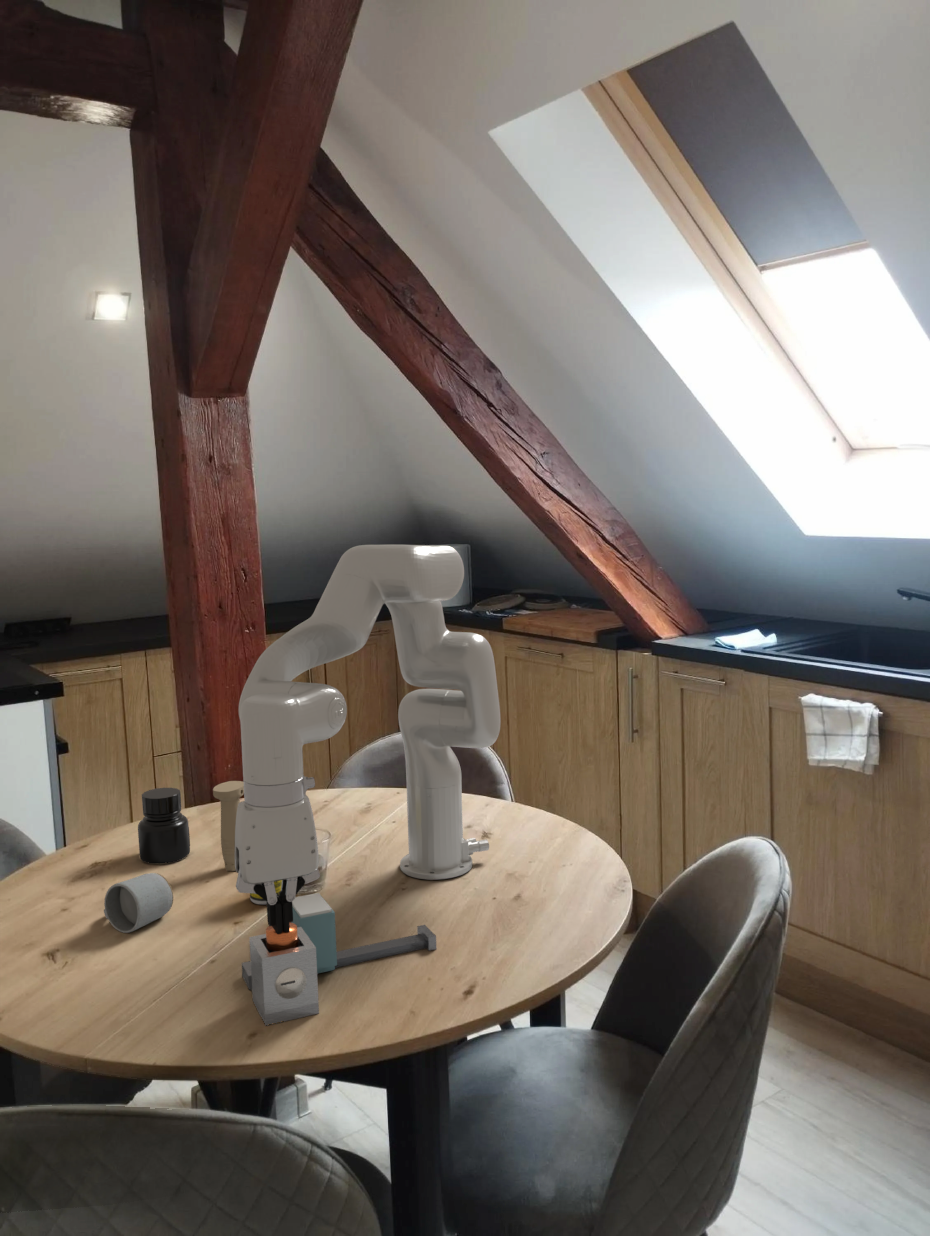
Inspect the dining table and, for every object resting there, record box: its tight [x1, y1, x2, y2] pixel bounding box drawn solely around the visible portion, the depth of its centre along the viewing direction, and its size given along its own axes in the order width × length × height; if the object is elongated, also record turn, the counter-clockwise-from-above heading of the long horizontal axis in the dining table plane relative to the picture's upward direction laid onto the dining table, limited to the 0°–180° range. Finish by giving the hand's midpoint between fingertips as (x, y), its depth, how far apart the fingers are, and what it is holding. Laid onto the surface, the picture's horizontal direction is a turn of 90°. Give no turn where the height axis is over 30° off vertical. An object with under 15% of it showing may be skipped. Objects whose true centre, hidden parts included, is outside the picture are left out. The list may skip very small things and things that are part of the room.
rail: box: [241, 924, 437, 991], centre depth 154 cm, size 27×4×2 cm, turn 114°
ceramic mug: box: [103, 872, 174, 934], centre depth 169 cm, size 11×8×8 cm
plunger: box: [265, 922, 298, 952], centre depth 141 cm, size 4×4×8 cm
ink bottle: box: [137, 787, 191, 865], centre depth 197 cm, size 10×9×12 cm
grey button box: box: [248, 927, 320, 1027], centre depth 141 cm, size 7×7×9 cm
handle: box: [212, 780, 244, 872], centre depth 190 cm, size 5×6×15 cm
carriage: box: [291, 892, 337, 975], centre depth 152 cm, size 5×7×9 cm
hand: (280, 928), depth 140 cm, fingers closed
